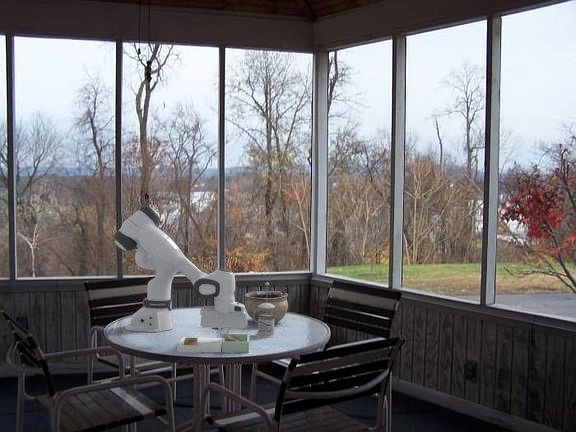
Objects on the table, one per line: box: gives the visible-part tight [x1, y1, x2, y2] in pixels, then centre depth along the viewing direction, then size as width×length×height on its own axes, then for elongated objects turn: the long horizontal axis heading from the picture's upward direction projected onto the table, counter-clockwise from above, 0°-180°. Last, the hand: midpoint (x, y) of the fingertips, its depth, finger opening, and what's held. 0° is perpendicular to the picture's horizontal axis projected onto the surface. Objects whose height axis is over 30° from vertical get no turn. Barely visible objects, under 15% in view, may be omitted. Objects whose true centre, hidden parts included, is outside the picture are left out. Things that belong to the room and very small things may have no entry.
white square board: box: [176, 336, 224, 353], centre depth 276 cm, size 18×16×2 cm
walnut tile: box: [226, 335, 239, 342], centre depth 280 cm, size 5×5×2 cm
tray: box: [221, 333, 251, 354], centre depth 277 cm, size 11×15×4 cm
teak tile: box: [184, 338, 197, 345], centre depth 272 cm, size 5×5×2 cm
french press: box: [252, 282, 277, 339], centre depth 301 cm, size 10×12×25 cm
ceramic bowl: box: [245, 290, 289, 324], centre depth 330 cm, size 22×22×15 cm
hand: (223, 337), depth 280 cm, fingers closed
